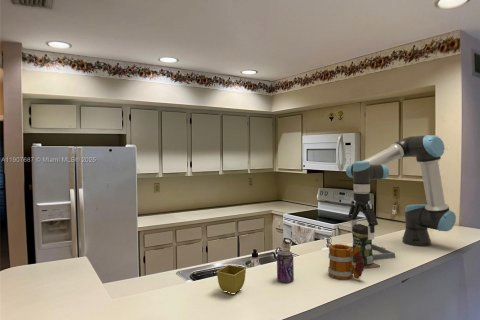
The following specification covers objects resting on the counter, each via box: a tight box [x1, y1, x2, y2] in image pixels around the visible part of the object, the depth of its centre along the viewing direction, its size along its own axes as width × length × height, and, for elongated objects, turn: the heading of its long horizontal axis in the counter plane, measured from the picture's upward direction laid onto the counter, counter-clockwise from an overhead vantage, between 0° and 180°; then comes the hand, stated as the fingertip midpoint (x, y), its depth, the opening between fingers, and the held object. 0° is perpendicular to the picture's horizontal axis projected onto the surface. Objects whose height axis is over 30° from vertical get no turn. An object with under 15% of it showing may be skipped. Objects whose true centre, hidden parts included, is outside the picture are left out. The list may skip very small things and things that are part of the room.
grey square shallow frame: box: [350, 243, 396, 261], centre depth 173 cm, size 17×17×3 cm
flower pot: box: [216, 264, 247, 294], centre depth 128 cm, size 9×9×9 cm
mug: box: [327, 243, 365, 280], centre depth 142 cm, size 11×16×15 cm, turn 44°
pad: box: [352, 260, 381, 270], centre depth 157 cm, size 11×11×1 cm
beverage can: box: [276, 250, 295, 283], centre depth 139 cm, size 7×7×12 cm
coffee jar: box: [351, 223, 374, 265], centre depth 157 cm, size 10×8×19 cm
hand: (362, 236), depth 157 cm, fingers open, 13 cm apart
